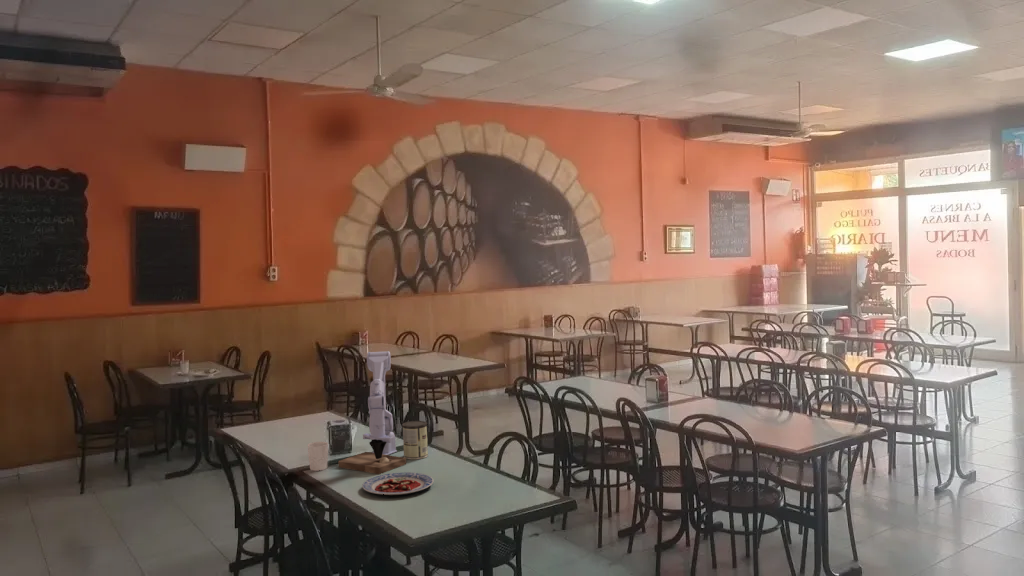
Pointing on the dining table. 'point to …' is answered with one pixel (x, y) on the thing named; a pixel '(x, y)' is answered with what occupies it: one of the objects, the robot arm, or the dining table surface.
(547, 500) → the dining table surface
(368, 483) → the ceramic plate
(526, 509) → the dining table surface
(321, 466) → the white cup
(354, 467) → the board
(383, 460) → the ball
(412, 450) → the coffee can
